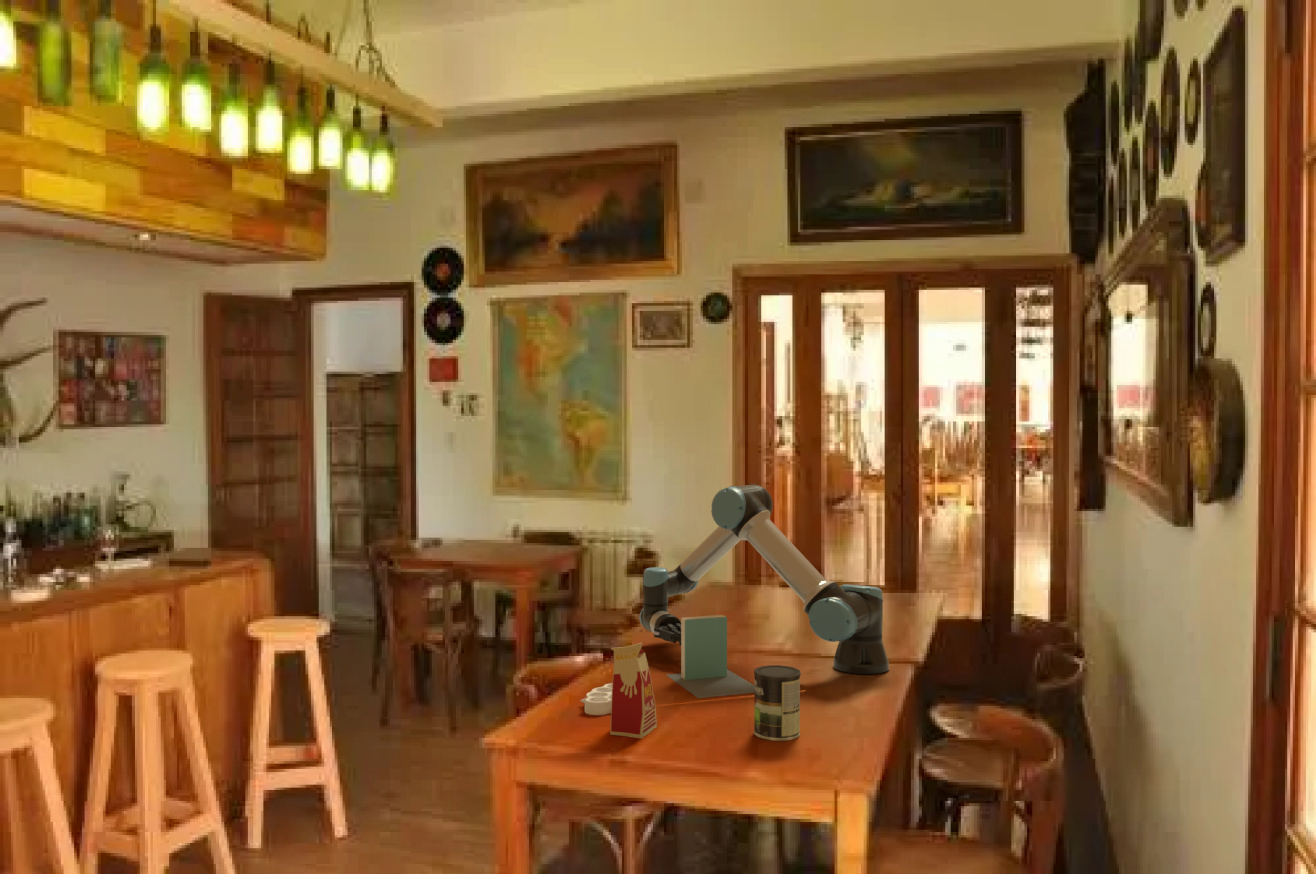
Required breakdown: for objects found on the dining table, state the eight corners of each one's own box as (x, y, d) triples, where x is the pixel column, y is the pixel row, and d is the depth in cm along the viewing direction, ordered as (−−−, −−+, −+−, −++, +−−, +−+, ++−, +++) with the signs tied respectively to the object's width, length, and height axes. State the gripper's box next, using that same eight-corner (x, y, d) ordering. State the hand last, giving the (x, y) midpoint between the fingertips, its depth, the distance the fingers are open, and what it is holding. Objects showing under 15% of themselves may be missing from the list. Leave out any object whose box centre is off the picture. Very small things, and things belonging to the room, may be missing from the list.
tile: (681, 677, 273) (681, 617, 273) (722, 673, 277) (722, 614, 277) (685, 680, 270) (685, 620, 270) (727, 676, 274) (727, 616, 274)
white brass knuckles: (629, 719, 239) (570, 714, 243) (651, 699, 256) (596, 694, 260) (629, 705, 238) (570, 700, 243) (651, 686, 256) (596, 681, 260)
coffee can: (758, 742, 221) (758, 677, 221) (750, 727, 231) (750, 665, 231) (805, 740, 222) (805, 676, 222) (794, 726, 232) (795, 664, 232)
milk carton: (657, 726, 232) (656, 639, 231) (643, 739, 223) (643, 648, 223) (619, 722, 235) (619, 636, 234) (604, 734, 226) (604, 644, 226)
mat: (665, 676, 276) (665, 674, 276) (727, 671, 282) (727, 669, 282) (698, 700, 253) (698, 698, 253) (764, 693, 259) (764, 691, 259)
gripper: (686, 637, 303) (717, 655, 281) (645, 640, 299) (672, 658, 277) (686, 612, 303) (717, 627, 281) (645, 615, 299) (672, 631, 277)
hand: (694, 643), depth 279 cm, fingers closed
